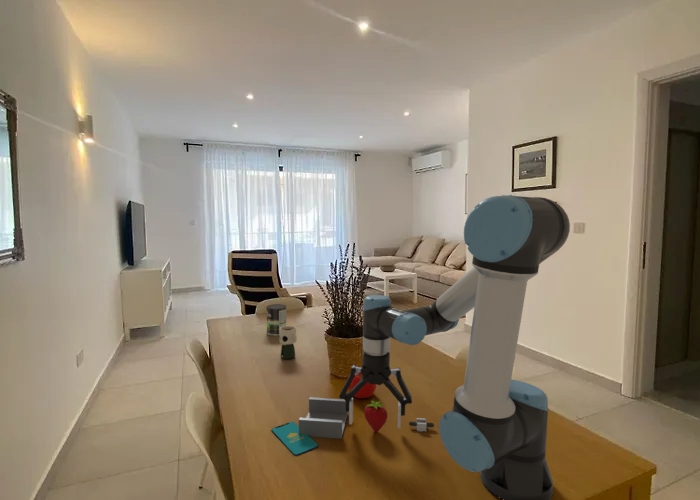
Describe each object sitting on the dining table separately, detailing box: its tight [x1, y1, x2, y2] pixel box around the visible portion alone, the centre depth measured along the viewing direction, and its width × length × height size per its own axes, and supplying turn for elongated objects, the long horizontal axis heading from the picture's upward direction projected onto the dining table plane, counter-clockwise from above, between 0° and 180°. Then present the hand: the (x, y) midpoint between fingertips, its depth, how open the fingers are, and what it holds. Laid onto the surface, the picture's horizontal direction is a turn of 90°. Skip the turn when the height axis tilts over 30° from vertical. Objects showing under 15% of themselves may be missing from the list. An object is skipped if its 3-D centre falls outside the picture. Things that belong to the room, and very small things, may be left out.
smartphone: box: [271, 421, 319, 457], centre depth 106 cm, size 7×1×15 cm
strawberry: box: [363, 398, 388, 433], centre depth 108 cm, size 6×8×10 cm
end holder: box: [298, 396, 349, 440], centre depth 112 cm, size 13×12×5 cm
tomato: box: [348, 372, 377, 399], centre depth 131 cm, size 9×9×8 cm
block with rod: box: [408, 417, 435, 432], centre depth 111 cm, size 3×7×2 cm, turn 83°
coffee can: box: [266, 303, 287, 337], centre depth 201 cm, size 10×10×14 cm
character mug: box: [278, 325, 298, 360], centre depth 166 cm, size 11×7×13 cm, turn 49°
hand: (374, 423), depth 109 cm, fingers open, 13 cm apart
